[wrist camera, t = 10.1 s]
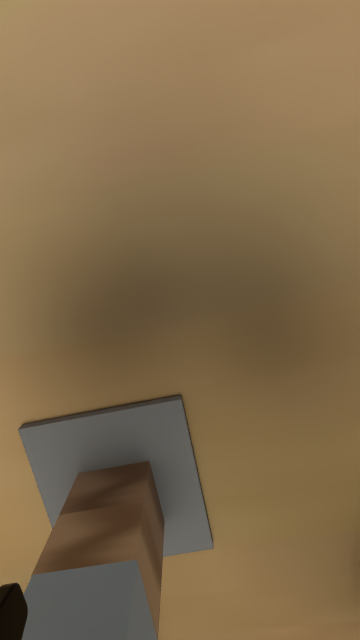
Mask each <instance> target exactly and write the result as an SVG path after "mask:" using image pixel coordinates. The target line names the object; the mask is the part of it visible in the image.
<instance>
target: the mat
mask: <svg viewBox="0 0 360 640" xmlns="http://www.w3.org/2000/svg"><path fill="white" fill-rule="evenodd" d="M18 431H19V434H20V436H21V439H22V442H23V445H24V448H25V451H26V454H27V457H28V460H29V462H30V465H31V468H32V471H33V474H34V477H35V480H36V483H37V486H38V488H39V491H40V494H41V497H42V500H43V503H44V506H45V509H46V511H47V514H48V517H49V520H50V523H51V526H52V529H53V527H54V525H55V523H56V521H57V518H58V516H59V514H60V512H61V510H62V507H63V505H64V503H65V501H66V499H67V496H68V494H69V492H70V490H71V488H72V486H73V483H74V481H75V479H76V477H77V475H78V473H83V472H88V471H94V470H100V469H105V468H111V467H116V466H122V465H128V464H133V463H139V462H145V461H150V465H151V469H152V473H153V477H154V481H155V485H156V489H157V493H158V497H159V501H160V505H161V508H162V512H163V516H164V520H165V526H164V543H163V557H165V556H171V555H177V554H183V553H189V552H195V551H201V550H208V549H214V547H213V540H212V535H211V530H210V526H209V521H208V517H207V512H206V507H205V503H204V498H203V494H202V489H201V484H200V480H199V475H198V471H197V466H196V461H195V457H194V452H193V448H192V443H191V438H190V434H189V429H188V425H187V420H186V415H185V411H184V406H183V402H182V397H181V395H179V396H174V397H168V398H163V399H157V400H152V401H147V402H141V403H136V404H130V405H125V406H120V407H114V408H109V409H104V410H98V411H93V412H87V413H82V414H77V415H71V416H66V417H60V418H55V419H50V420H44V421H39V422H33V423H28V424H23V425H22V426H21V427H20V428H19V429H18Z"/></svg>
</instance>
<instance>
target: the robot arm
mask: <svg viewBox="0 0 360 640" xmlns="http://www.w3.org/2000/svg"><path fill="white" fill-rule="evenodd" d="M27 616H28V606H27V603H26V600H25V597H24V595H23V592H22V590H21V587H20V585H19V584H18V583H11V584H5V585H2V586H1V587H0V640H22V636H23V632H24V628H25V625H26V621H27Z"/></svg>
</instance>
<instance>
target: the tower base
mask: <svg viewBox="0 0 360 640" xmlns="http://www.w3.org/2000/svg"><path fill="white" fill-rule="evenodd" d="M138 501H144V504H145V508H146V511H147V515H148V519H149V523H150V527H151V530H152V534H153V538H154V542H155V545H156V549H157V553H158V557H159V560H160V564H161V568H162V560H163V543H164V526H165V520H164V516H163V512H162V508H161V505H160V501H159V497H158V493H157V489H156V485H155V481H154V477H153V473H152V469H151V465H150V461H145V462H139V463H133V464H128V465H122V466H116V467H111V468H105V469H100V470H94V471H88V472H83V473H78V475H77V477H76V479H75V481H74V483H73V486H72V488H71V490H70V492H69V494H68V496H67V499H66V501H65V503H64V505H63V507H62V510H61V512H60V514H59V515H62V514H68V513H74V512H80V511H86V510H91V509H97V508H103V507H109V506H115V505H121V504H126V503H132V502H138Z"/></svg>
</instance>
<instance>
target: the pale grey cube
mask: <svg viewBox="0 0 360 640" xmlns="http://www.w3.org/2000/svg"><path fill="white" fill-rule="evenodd" d="M24 597H25V600H26V603H27V606H28V616H27V621H26V625H25V628H24V632H23V636H22V640H157V636H156V632H155V628H154V624H153V620H152V616H151V612H150V609H149V605H148V601H147V597H146V593H145V589H144V585H143V581H142V577H141V573H140V569H139V565H138V561H137V560H132V561H125V562H118V563H111V564H104V565H97V566H90V567H83V568H76V569H69V570H62V571H55V572H48V573H41V574H34V575H32V577H31V579H30V582H29V584H28V586H27V588H26V590H25V593H24Z"/></svg>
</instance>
